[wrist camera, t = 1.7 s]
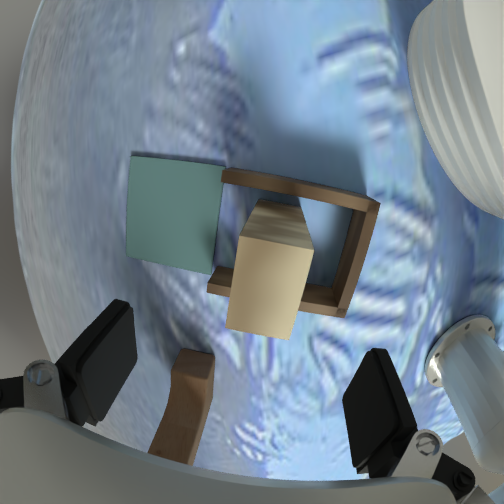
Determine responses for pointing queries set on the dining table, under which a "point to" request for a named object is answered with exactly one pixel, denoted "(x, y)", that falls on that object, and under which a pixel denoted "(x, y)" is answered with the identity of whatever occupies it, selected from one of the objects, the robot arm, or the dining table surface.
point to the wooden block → (185, 407)
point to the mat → (173, 212)
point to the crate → (353, 251)
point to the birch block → (270, 270)
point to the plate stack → (462, 93)
